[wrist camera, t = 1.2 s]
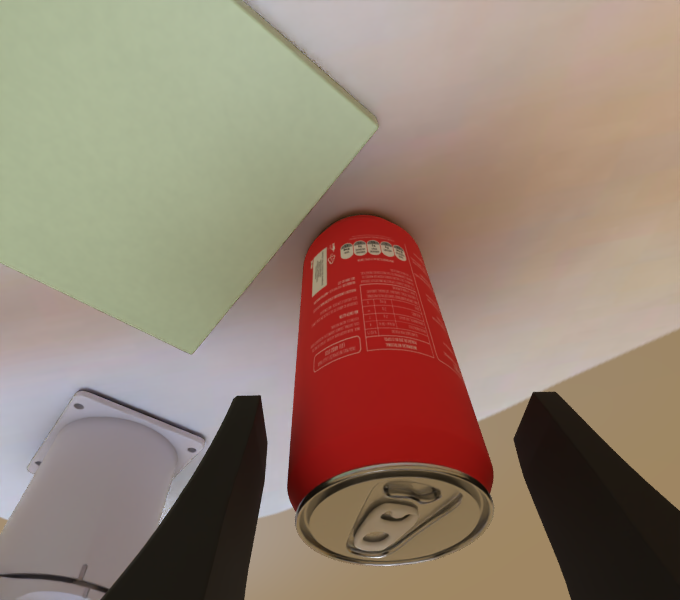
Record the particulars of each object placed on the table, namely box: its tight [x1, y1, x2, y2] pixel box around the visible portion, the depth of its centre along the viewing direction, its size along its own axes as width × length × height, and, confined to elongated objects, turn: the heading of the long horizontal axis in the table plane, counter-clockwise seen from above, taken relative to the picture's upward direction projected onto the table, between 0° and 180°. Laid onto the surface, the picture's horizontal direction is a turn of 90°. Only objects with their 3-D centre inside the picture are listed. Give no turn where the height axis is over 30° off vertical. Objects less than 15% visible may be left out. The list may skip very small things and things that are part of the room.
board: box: [0, 0, 379, 354], centre depth 15 cm, size 14×20×1 cm
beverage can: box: [287, 214, 494, 566], centre depth 15 cm, size 5×5×12 cm
